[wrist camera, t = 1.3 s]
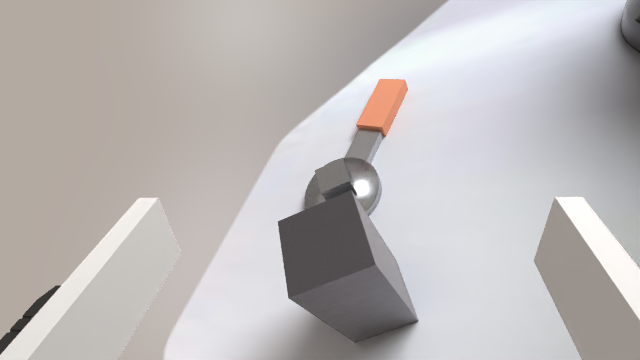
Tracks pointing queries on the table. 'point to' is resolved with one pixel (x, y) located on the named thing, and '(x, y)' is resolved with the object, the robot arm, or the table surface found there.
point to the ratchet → (360, 152)
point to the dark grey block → (344, 269)
